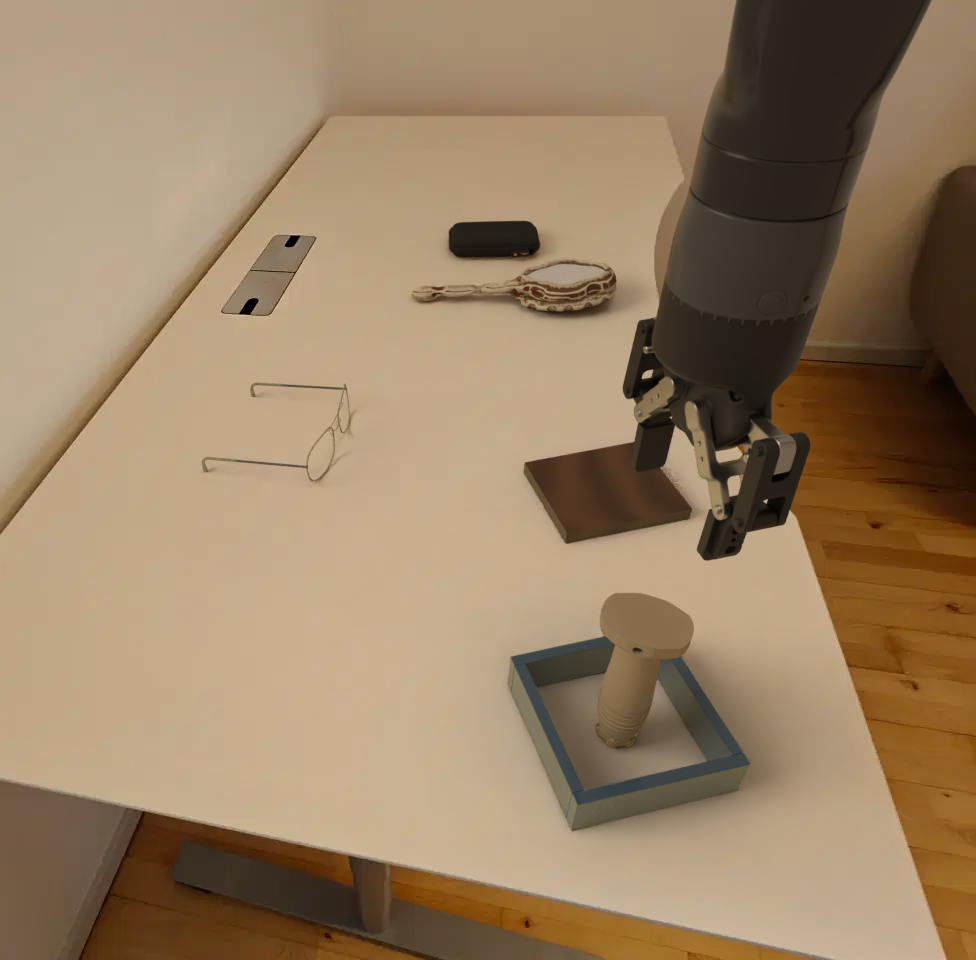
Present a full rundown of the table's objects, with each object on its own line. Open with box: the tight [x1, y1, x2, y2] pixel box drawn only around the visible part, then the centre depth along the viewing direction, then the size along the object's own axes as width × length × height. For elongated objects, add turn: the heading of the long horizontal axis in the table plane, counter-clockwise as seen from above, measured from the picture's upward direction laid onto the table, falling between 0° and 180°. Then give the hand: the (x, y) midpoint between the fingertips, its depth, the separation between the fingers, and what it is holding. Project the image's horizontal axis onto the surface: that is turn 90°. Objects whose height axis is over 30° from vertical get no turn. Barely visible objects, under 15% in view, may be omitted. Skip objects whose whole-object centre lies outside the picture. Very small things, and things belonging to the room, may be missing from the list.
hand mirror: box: [411, 258, 618, 312], centre depth 125 cm, size 11×6×30 cm
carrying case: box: [448, 220, 541, 259], centre depth 139 cm, size 11×3×15 cm
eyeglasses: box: [201, 382, 351, 482], centre depth 103 cm, size 16×15×5 cm
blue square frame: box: [506, 635, 752, 831], centre depth 69 cm, size 14×14×4 cm
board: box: [523, 441, 693, 544], centre depth 93 cm, size 14×12×2 cm
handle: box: [595, 592, 695, 749], centre depth 66 cm, size 5×6×15 cm
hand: (678, 508), depth 54 cm, fingers open, 8 cm apart
